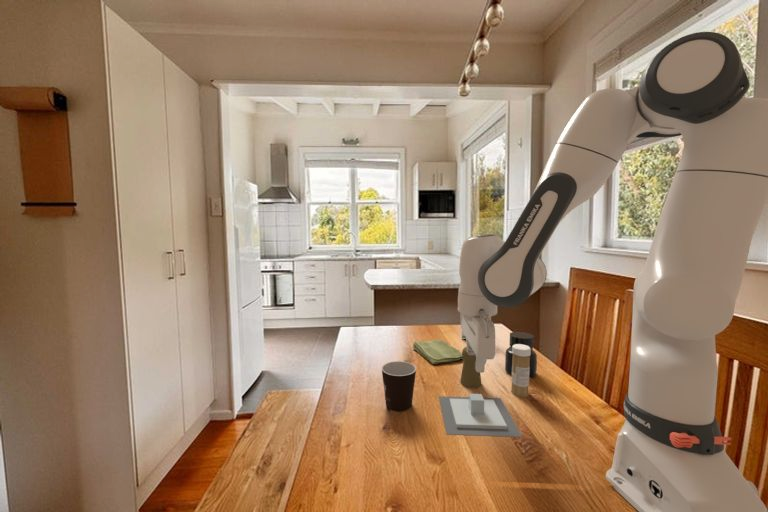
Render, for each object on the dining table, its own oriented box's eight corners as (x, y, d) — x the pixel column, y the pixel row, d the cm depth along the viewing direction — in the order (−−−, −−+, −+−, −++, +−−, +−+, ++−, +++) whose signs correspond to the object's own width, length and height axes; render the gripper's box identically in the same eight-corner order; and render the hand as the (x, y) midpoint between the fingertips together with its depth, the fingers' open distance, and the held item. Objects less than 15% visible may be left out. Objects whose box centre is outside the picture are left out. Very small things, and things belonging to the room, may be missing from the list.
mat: (522, 439, 69) (522, 437, 69) (446, 437, 70) (446, 434, 70) (500, 400, 85) (500, 398, 85) (438, 398, 86) (438, 396, 86)
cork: (482, 391, 90) (483, 352, 89) (460, 389, 91) (460, 350, 90) (480, 381, 96) (481, 344, 95) (459, 379, 97) (460, 343, 96)
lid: (506, 429, 72) (507, 410, 71) (456, 427, 72) (456, 409, 72) (493, 402, 82) (493, 386, 82) (449, 401, 83) (449, 385, 83)
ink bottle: (542, 374, 100) (544, 336, 99) (528, 382, 95) (530, 342, 94) (512, 364, 108) (514, 328, 107) (498, 371, 102) (499, 334, 101)
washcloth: (432, 367, 106) (432, 358, 106) (410, 348, 123) (410, 340, 123) (467, 362, 110) (467, 353, 110) (441, 344, 127) (441, 336, 127)
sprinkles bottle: (511, 389, 90) (512, 342, 89) (529, 392, 89) (530, 344, 88) (510, 397, 86) (511, 348, 85) (529, 400, 84) (530, 350, 83)
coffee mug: (411, 419, 77) (411, 378, 76) (376, 412, 79) (376, 372, 79) (421, 395, 88) (422, 359, 87) (391, 390, 90) (391, 355, 90)
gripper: (505, 317, 65) (501, 384, 66) (481, 295, 85) (478, 346, 86) (473, 316, 65) (470, 382, 66) (456, 294, 85) (454, 345, 87)
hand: (474, 362), depth 77 cm, fingers open, 8 cm apart
